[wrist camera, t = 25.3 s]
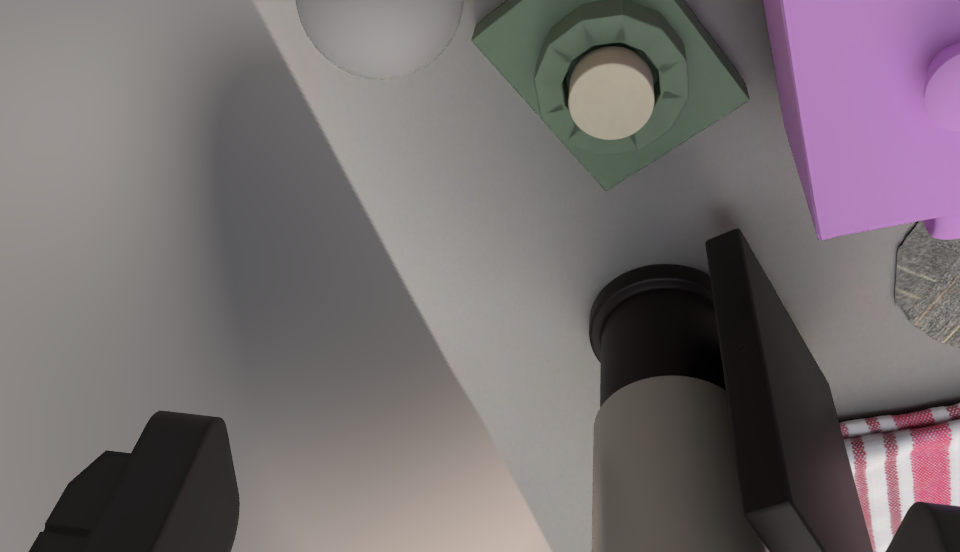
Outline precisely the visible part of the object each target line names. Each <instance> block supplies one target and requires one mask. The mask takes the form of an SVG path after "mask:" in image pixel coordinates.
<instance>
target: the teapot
mask: <svg viewBox="0 0 960 552" xmlns="http://www.w3.org/2000/svg"><path fill="white" fill-rule="evenodd" d="M763 5H764V11H765V17H766V23H767V29H768V35H769V40H770V46H771V52H772V58H773V64H774V69H775V75H776V81H777V87H778V92H779V98H780V104H781V110H782V116H783V121H784V127H785V130H786V133H787V137H788V140H789V143H790V147H791V150H792V153H793V157H794V160H795V163H796V167H797V170H798V173H799V176H800V180H801V183H802V186H803V190H804V193H805V196H806V200H807V203H808V206H809V210H810V213H811V216H812V220H813V223H814V226H815V230H816V233H817V236H818V240H826V239H830V238H833V237H838V236H843V235H848V234H853V233H858V232H864V231H869V230H874V229H880V228H885V227H890V226H896V225H901V224H906V223H912V222H917V221H923V223H924V226H925V228H926V230H927V232H928V233H929V235H931V236H932V237H933V238H936V239H941V240H954V239H959V238H960V0H763Z"/></svg>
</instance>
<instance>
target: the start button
mask: <svg viewBox="0 0 960 552" xmlns="http://www.w3.org/2000/svg"><path fill="white" fill-rule="evenodd" d="M654 102H655V100H654V85H653V76H652V72H651V70H650V68H649V66H648V64H647V63H646V61H645V60H644V59H643V58H642V57H641V56H640V55H639V54H637V53H635V52H634V51H632V50H630V49H627V48H624V47H618V46H607V47H602V48H598V49H595V50H593V51H591V52H589V53H588V54H586V55H585V56H584V57H583V58H581V59H580V61H579V62H578V63H577V64H576V66H575V67H574V69H573V71H572V74H571V77H570V85H569V98H568V106H569V111H570V114H571V117H572V119H573V121H574V122H575V123H576V125H577V126H578V127H579V128H580V129H581V130H583V131H584V132H585V133H587V134H589V135H590V136H593V137H595V138H599V139H604V140H616V139H622V138H625V137H628V136H630V135H632V134H634V133H636V132H637V131H638V130H640V129H641V128H642V127H643V126H644V125H645V124H646V123H647V121H648V120H649V118H650V116H651V114H652V112H653V108H654Z"/></svg>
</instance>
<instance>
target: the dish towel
mask: <svg viewBox="0 0 960 552" xmlns="http://www.w3.org/2000/svg"><path fill="white" fill-rule="evenodd" d="M839 425H840V428H841V432H842V436H843V440H844V443H845V447H846V451H847V455H848V458H849V462H850V466H851V470H852V474H853V477H854V481H855V485H856V489H857V492H858V496H859V500H860V504H861V507H862V511H863V515H864V519H865V523H866V526H867V530H868V534H869V538H870V541H871V545H872V549H873V552H886V550H887V548H888V546H889V544H890V543H891V541H892V539H893V537H894V535H895V533H896V531H897V530H898V528H899V526H900V524H901V522H902V520H903V518H904V517H905V515H906V513H907V511H908V510H909V508H910V507H911V506H912V505H913V504H914V503H916V502H927V503H935V504H944V505H952V506H960V403H958V404H955V405H951V406H940V407H934V408H929V409H926V410H922V411H917V412H912V413H907V414H901V415H886V416H877V417H872V418H866V419H857V420H850V421H845V422H840V423H839Z"/></svg>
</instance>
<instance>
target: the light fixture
mask: <svg viewBox="0 0 960 552" xmlns="http://www.w3.org/2000/svg"><path fill="white" fill-rule="evenodd" d="M705 244H706V251H707V258H708V266H709V273H710V276H709V275H707V274H705V273H703V272H700V271H698V270H695V269H692V268H688V267H684V266H677V265H654V266H648V267H643V268H639V269H636V270H633V271H630V272H628V273H626V274H623V275H621V276H620V277H618V278H616V279H615V280H614V281H612V282H611V283H610V284H608V285H607V286H606V287H605V288H604V289H603V290H602V292H601V293H600V294H599V295H598V297H597V298H596V300H595V302H594V304H593V307H592V309H591V314H590V324H589V337H590V343H591V346H592V349H593V352H594V354H595V356H596V357H597V359H598V360H599V362H600V363H601V384H600V410H599V411H598V413H597V416H596V419H595V423H594V445H593V504H592V552H873V549H872V545H871V541H870V538H869V534H868V530H867V526H866V523H865V519H864V515H863V511H862V507H861V504H860V500H859V496H858V492H857V489H856V485H855V481H854V477H853V474H852V470H851V466H850V462H849V458H848V455H847V451H846V447H845V443H844V440H843V436H842V432H841V428H840V425H839V421H838V417H837V413H836V409H835V406H834V402H833V398H832V394H831V391H830V387H829V384H828V382H827V380H826V379H825V377H824V375H823V373H822V372H821V370H820V368H819V366H818V365H817V363H816V361H815V359H814V358H813V356H812V354H811V352H810V351H809V349H808V347H807V345H806V344H805V342H804V340H803V338H802V337H801V335H800V333H799V331H798V330H797V328H796V326H795V325H794V323H793V321H792V319H791V318H790V316H789V314H788V312H787V311H786V309H785V307H784V305H783V304H782V302H781V300H780V298H779V297H778V295H777V293H776V291H775V290H774V288H773V286H772V284H771V283H770V281H769V279H768V277H767V276H766V274H765V272H764V271H763V269H762V267H761V265H760V264H759V262H758V260H757V258H756V257H755V255H754V253H753V251H752V250H751V248H750V246H749V244H748V243H747V241H746V239H745V237H744V236H743V234H742V232H741V231H740V229H738V228H736V229H733V230H731V231H728V232H726V233H724V234H721V235H719V236H716V237H714V238H712V239H709V240H707V241H706V243H705Z"/></svg>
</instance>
